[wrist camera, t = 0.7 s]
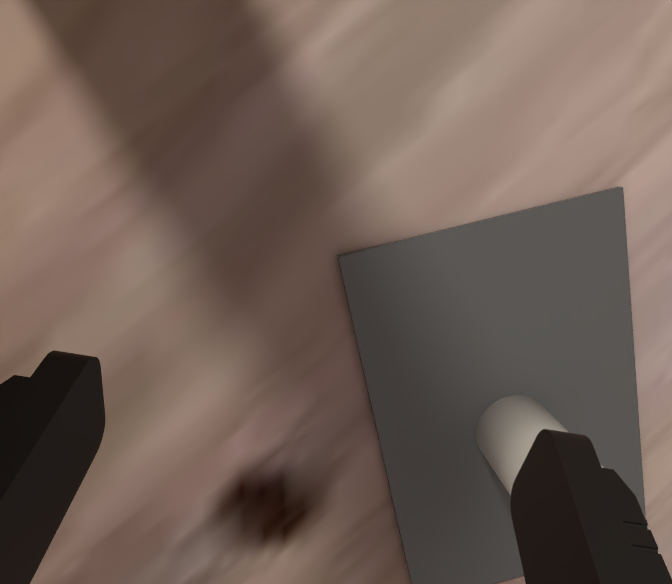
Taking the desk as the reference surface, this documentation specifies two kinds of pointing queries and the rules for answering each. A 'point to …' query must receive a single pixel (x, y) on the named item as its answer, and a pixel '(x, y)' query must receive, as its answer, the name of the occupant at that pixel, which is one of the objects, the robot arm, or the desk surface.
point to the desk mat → (493, 365)
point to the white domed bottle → (512, 433)
